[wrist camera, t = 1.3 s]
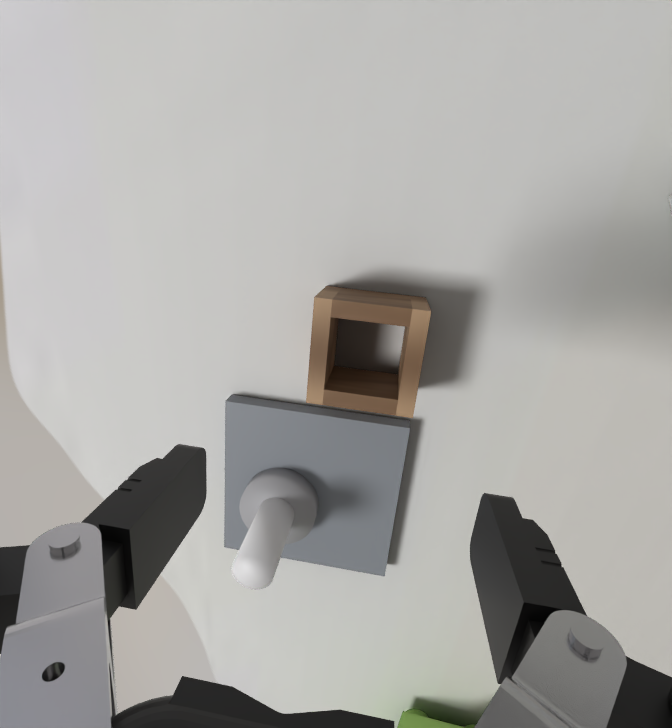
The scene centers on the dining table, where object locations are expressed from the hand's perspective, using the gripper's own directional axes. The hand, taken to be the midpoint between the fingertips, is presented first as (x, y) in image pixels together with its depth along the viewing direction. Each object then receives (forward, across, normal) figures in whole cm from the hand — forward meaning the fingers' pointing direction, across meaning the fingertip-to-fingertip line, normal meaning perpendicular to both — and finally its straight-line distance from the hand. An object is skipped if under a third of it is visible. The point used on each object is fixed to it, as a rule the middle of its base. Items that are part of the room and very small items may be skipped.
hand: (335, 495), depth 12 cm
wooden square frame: (+17, 0, 0) cm, 17 cm away
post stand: (+17, +3, +12) cm, 21 cm away
